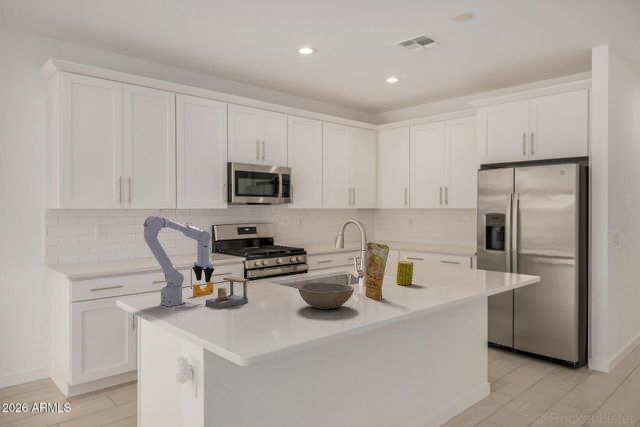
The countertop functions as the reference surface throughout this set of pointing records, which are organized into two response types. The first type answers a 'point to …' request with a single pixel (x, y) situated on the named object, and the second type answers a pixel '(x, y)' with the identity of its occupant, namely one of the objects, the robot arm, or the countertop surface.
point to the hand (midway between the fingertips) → (203, 281)
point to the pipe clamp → (203, 291)
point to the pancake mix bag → (375, 269)
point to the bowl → (325, 294)
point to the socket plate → (231, 295)
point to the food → (404, 273)
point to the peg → (222, 294)
